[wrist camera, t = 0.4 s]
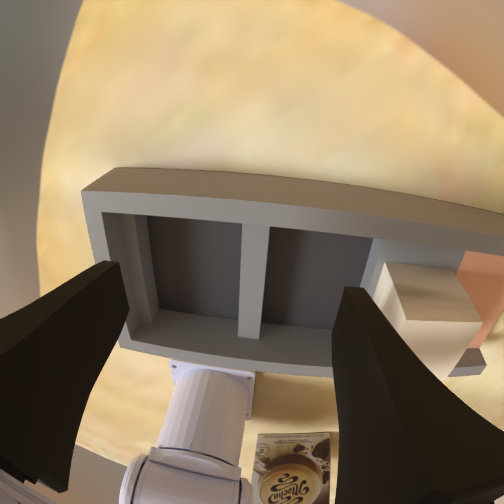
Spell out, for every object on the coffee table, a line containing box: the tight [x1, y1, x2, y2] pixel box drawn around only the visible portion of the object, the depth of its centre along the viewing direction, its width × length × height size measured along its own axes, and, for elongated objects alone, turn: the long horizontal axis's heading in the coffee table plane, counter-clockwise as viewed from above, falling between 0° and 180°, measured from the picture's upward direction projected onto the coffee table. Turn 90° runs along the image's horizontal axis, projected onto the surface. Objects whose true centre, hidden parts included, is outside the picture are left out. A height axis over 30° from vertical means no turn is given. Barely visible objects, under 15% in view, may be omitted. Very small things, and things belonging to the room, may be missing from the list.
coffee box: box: [251, 432, 331, 504], centre depth 28 cm, size 9×6×16 cm
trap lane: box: [81, 168, 504, 378], centre depth 19 cm, size 12×29×4 cm, turn 88°
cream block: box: [373, 262, 483, 381], centre depth 17 cm, size 5×5×5 cm
